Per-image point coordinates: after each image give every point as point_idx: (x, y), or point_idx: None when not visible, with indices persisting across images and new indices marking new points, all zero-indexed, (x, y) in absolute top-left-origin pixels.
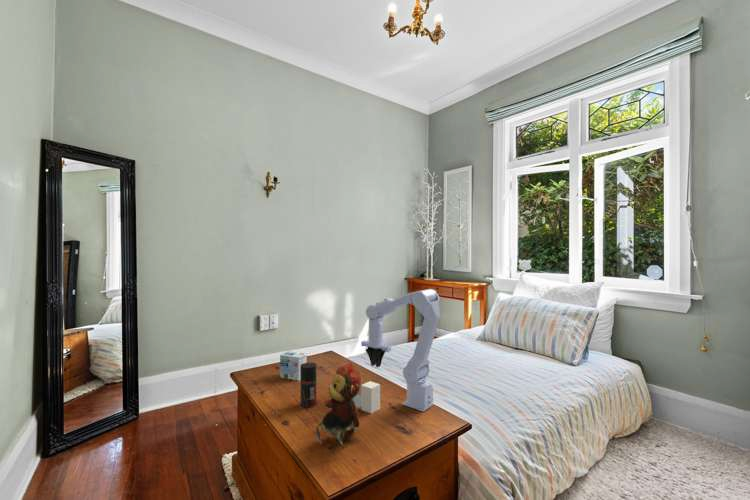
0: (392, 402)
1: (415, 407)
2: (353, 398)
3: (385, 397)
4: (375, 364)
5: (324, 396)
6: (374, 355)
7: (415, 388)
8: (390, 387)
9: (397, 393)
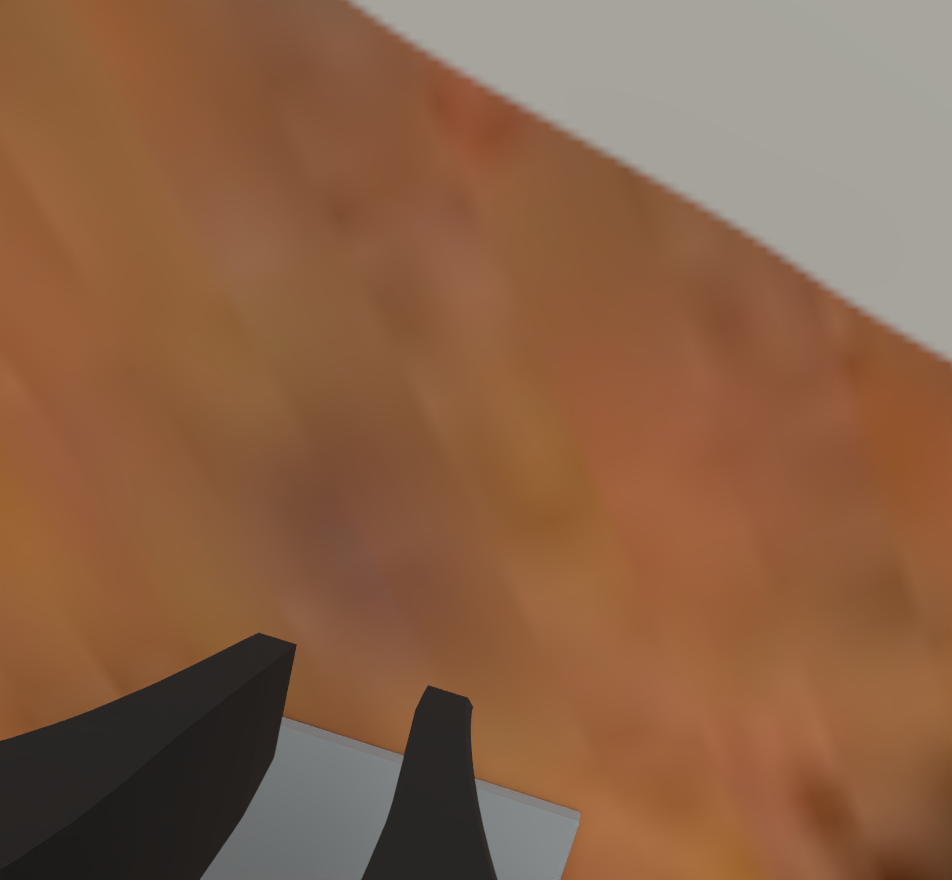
0: (847, 767)
1: None
2: (329, 843)
3: (693, 658)
4: (292, 648)
5: None
6: (121, 871)
7: None
8: (631, 285)
9: (827, 467)
